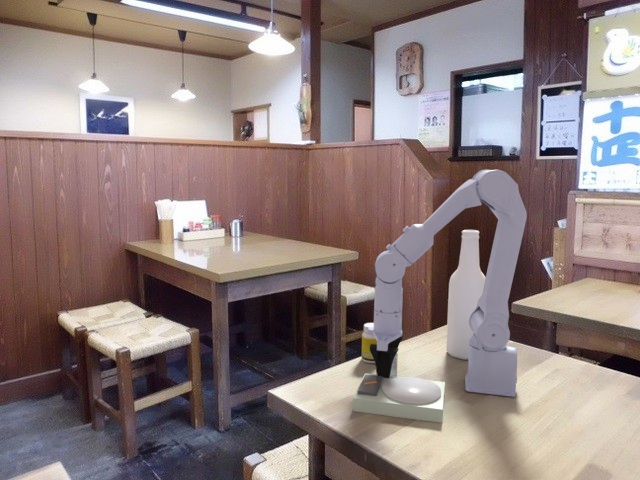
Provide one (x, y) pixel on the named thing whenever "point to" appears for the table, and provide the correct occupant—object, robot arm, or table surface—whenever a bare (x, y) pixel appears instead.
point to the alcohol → (464, 295)
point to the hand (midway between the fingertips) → (386, 372)
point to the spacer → (394, 367)
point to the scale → (400, 397)
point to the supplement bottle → (367, 344)
